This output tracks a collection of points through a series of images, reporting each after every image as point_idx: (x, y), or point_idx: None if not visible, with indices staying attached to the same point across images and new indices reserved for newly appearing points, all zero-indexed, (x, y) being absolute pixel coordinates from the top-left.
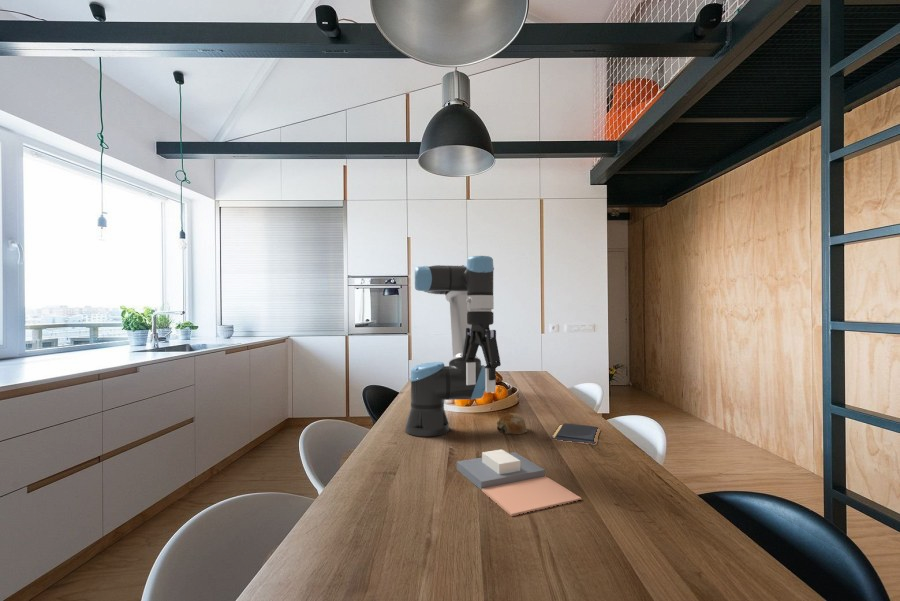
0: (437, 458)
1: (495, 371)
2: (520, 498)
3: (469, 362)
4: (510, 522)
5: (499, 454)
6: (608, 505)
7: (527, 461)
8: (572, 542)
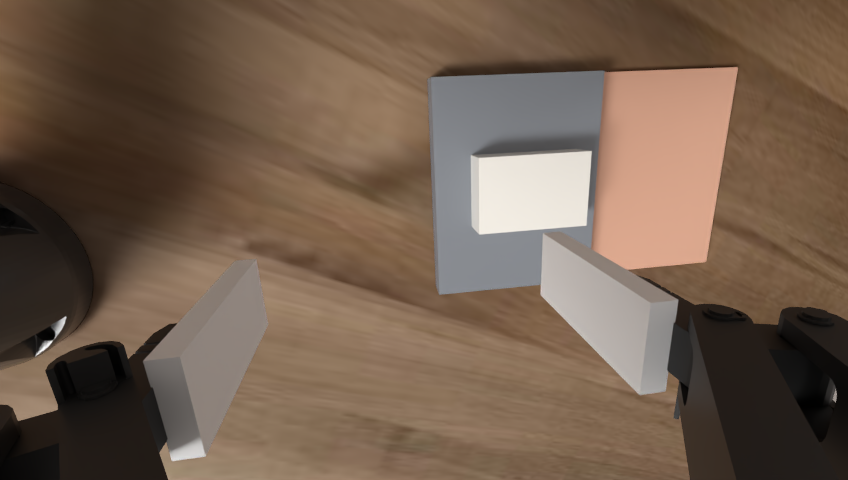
0: (336, 312)
1: (693, 305)
2: (665, 211)
3: (165, 425)
4: (716, 271)
5: (518, 188)
6: (783, 19)
7: (525, 84)
8: (822, 200)
